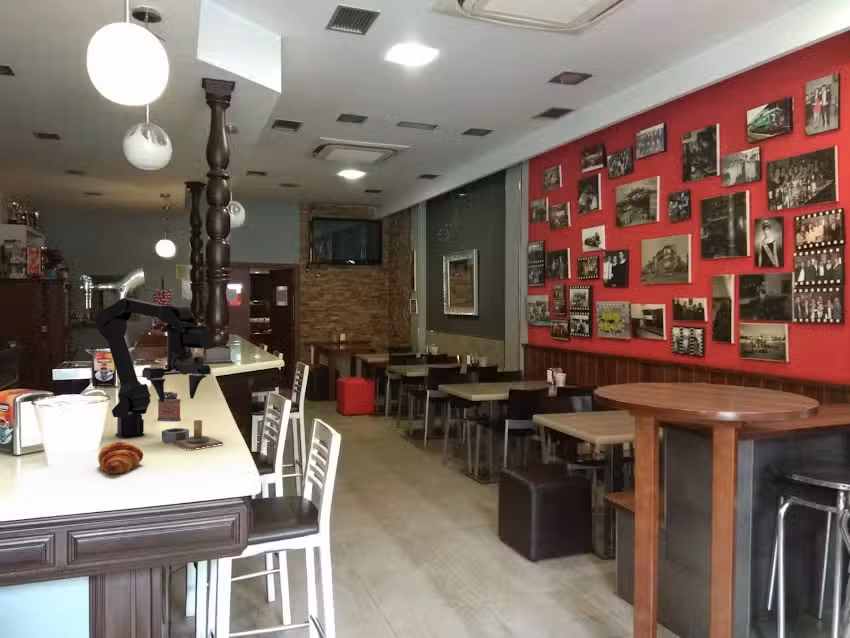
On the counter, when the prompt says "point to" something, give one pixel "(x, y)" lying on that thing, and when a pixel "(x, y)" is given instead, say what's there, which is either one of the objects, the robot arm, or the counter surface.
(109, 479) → the counter surface
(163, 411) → the lighter
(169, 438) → the ring
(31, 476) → the counter surface
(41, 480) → the counter surface
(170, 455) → the counter surface
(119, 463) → the croissant
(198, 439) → the peg stand
